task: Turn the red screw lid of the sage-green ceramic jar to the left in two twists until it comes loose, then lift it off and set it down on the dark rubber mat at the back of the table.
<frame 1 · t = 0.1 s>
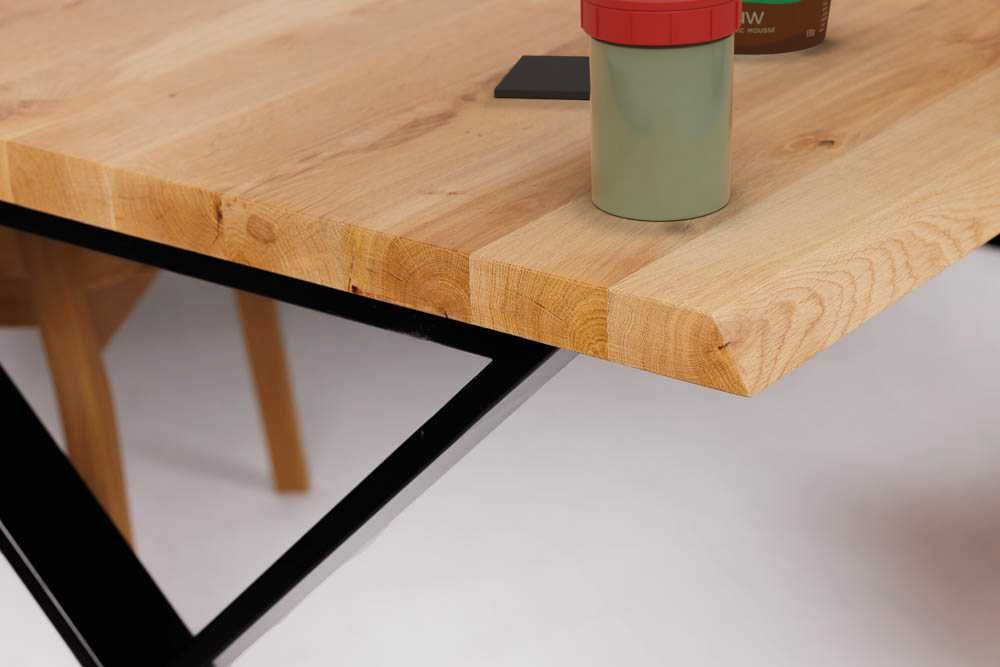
food container: (748, 49, 94), on the table
jar: (660, 196, 69), on the table
mat: (572, 80, 88), on the table
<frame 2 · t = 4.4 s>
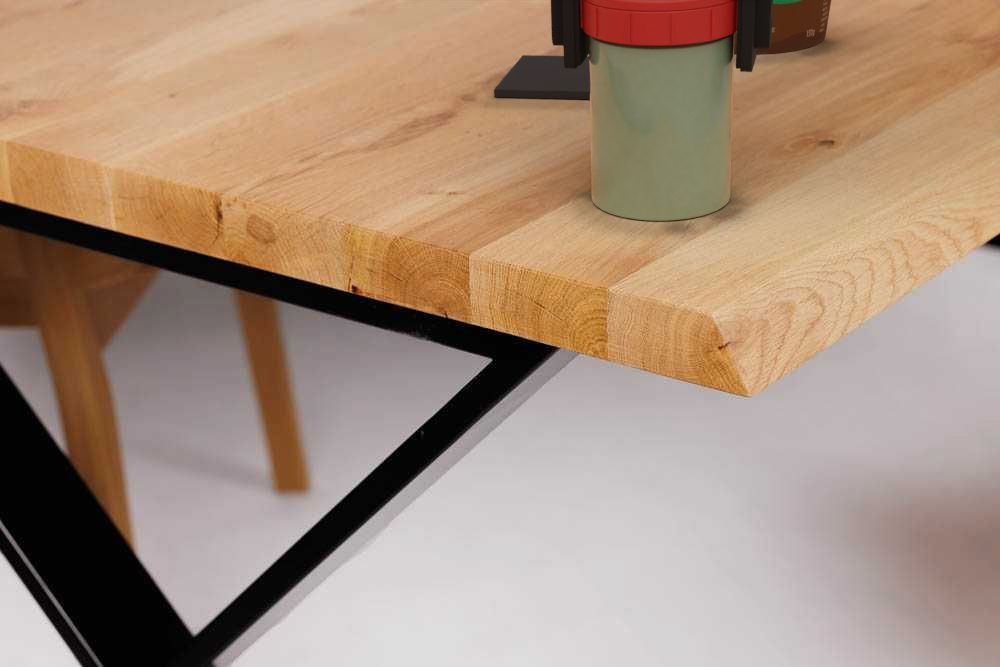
hand: (661, 59, 66), 7 cm above the table, tool pointing down, fingers closed on lid, 7 cm apart
everything else where it was.
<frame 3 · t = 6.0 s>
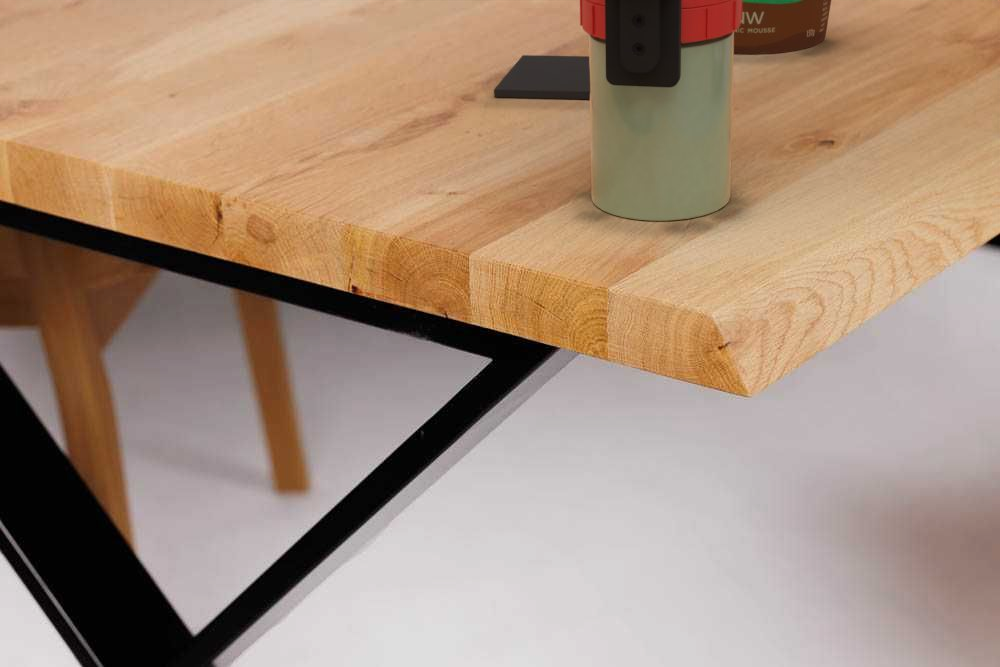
hand: (660, 58, 66), 7 cm above the table, tool pointing down, fingers closed on lid, 7 cm apart
everything else where it was.
when the fingers open (6 cm above the table, at t = 7.6 s): lid stays where it is, point 10 cm above the table.
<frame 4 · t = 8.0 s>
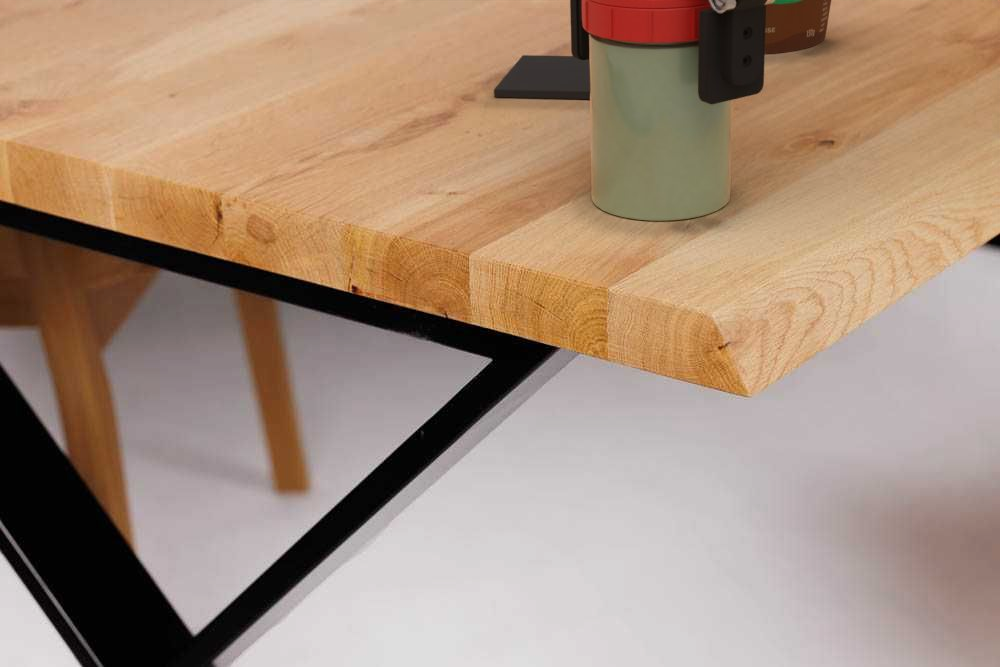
hand: (662, 74, 67), 6 cm above the table, tool pointing down, fingers open, 9 cm apart
everything else where it was.
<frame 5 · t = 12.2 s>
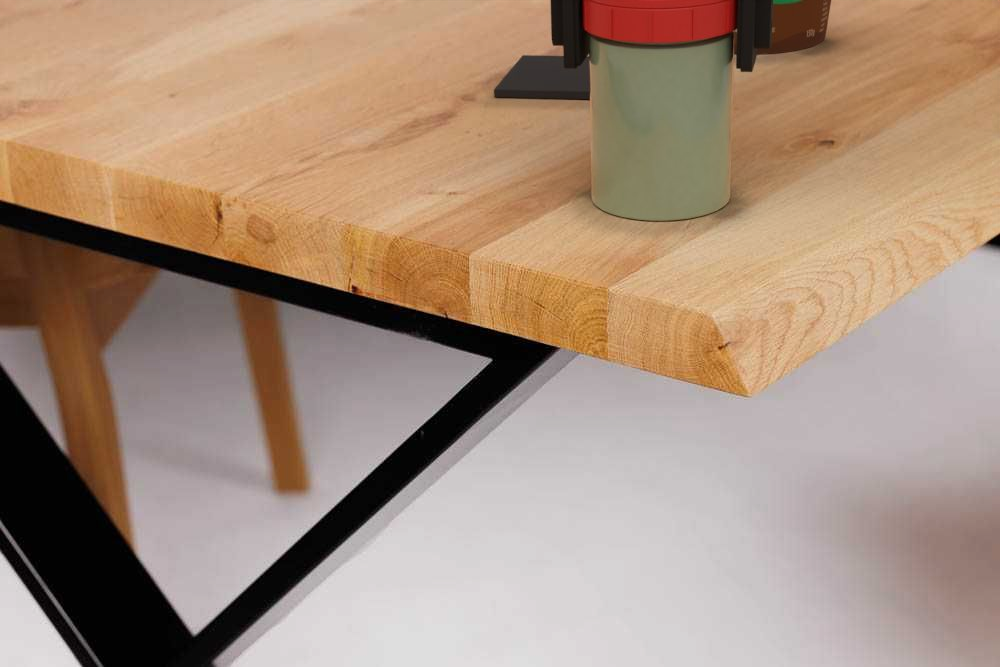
hand: (661, 60, 66), 7 cm above the table, tool pointing down, fingers closed on lid, 7 cm apart
everything else where it was.
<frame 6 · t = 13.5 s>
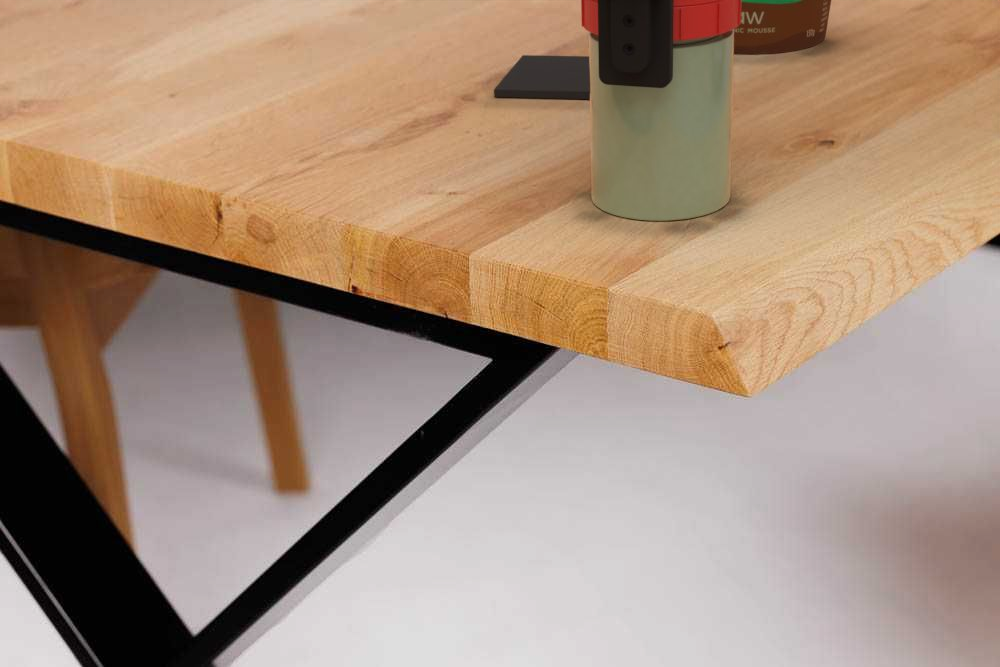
hand: (660, 58, 66), 7 cm above the table, tool pointing down, fingers closed on lid, 7 cm apart
everything else where it was.
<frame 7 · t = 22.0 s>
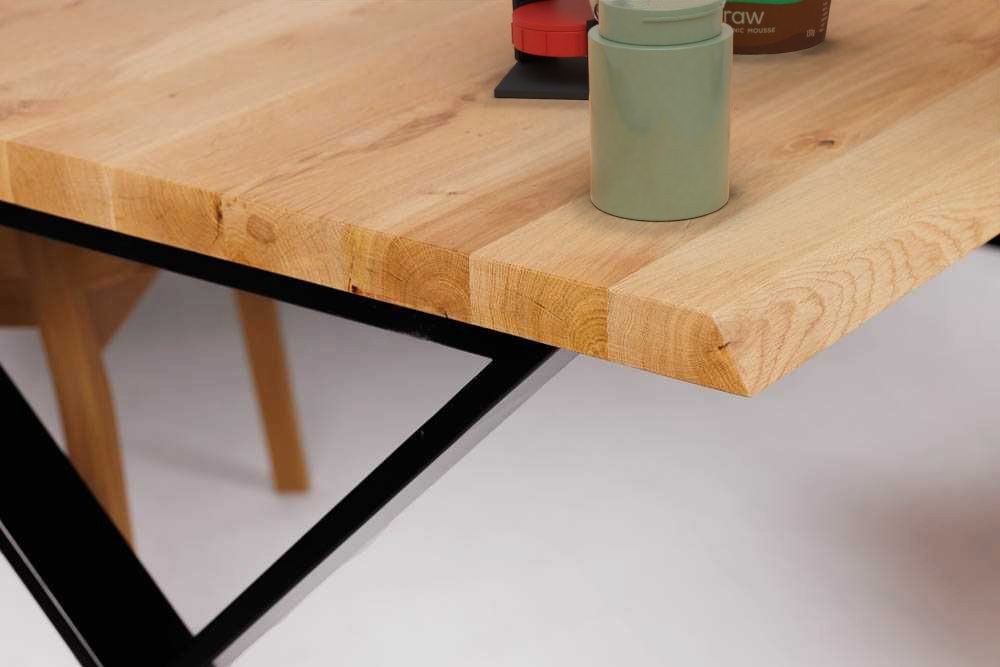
hand: (573, 69, 88), 1 cm above the table, tool pointing down, fingers closed on lid, 7 cm apart
lid: (571, 17, 87), point 4 cm above the table, off its thread, touching gripper
everything else where it was.
when the fingers open (1 cm above the table, at t = 29.2 s): lid stays where it is, resting on mat.
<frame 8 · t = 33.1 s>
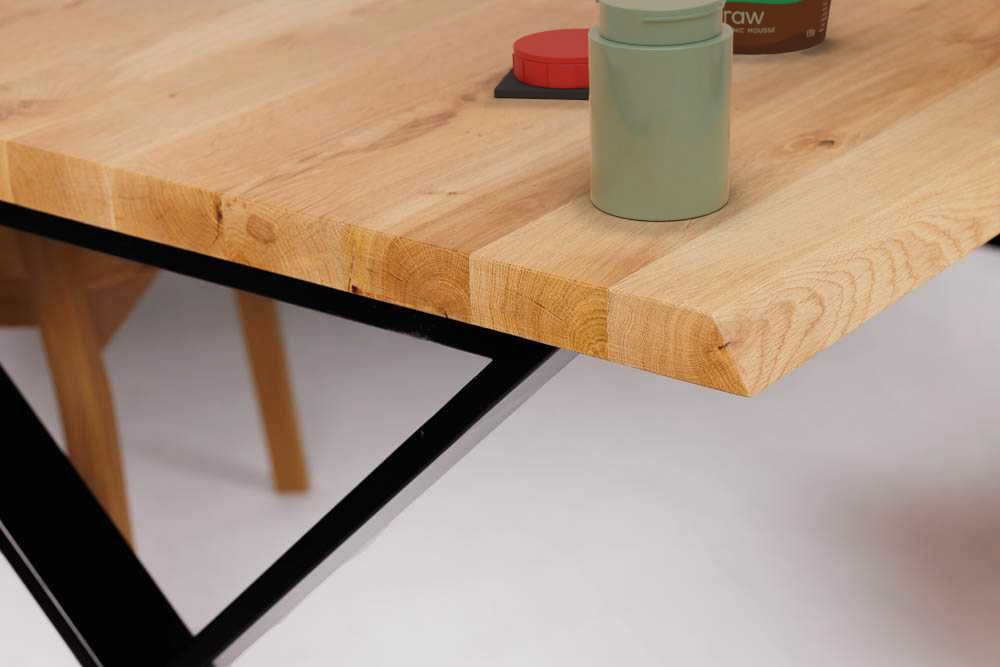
lid: (572, 48, 87), point 2 cm above the table, off its thread, touching mat
everything else where it was.
at the end: lid inside the target area on the mat (0.1 cm from its centre), point 2.0 cm above the mat's base; the gripper is holding nothing; jar tilted 0° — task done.
